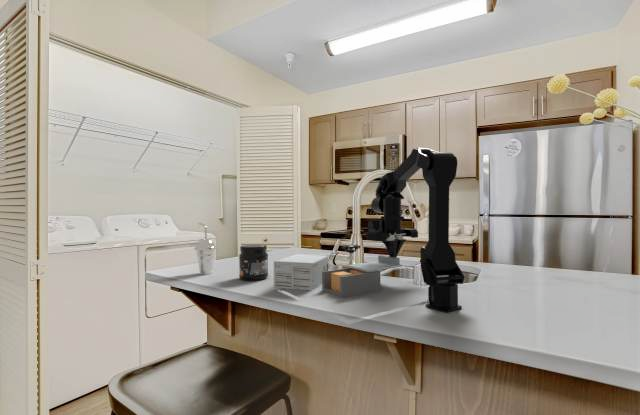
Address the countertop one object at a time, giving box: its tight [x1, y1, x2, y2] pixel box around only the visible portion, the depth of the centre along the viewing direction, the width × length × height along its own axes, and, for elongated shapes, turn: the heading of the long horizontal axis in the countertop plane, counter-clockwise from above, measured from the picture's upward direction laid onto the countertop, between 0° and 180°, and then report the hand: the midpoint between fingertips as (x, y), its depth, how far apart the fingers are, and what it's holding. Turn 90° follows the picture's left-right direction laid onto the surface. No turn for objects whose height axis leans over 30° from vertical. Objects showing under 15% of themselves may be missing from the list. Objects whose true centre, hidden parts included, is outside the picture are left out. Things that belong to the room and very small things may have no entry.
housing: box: [321, 267, 382, 299], centre depth 101 cm, size 10×14×6 cm
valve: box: [341, 244, 361, 265], centre depth 120 cm, size 7×7×12 cm
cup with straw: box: [193, 222, 217, 275], centre depth 133 cm, size 8×9×20 cm
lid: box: [345, 254, 403, 272], centre depth 106 cm, size 10×14×3 cm
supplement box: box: [273, 253, 329, 291], centre depth 111 cm, size 17×13×9 cm
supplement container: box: [238, 243, 269, 282], centre depth 123 cm, size 10×10×12 cm
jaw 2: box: [350, 269, 366, 275], centre depth 103 cm, size 4×4×6 cm
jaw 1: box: [331, 271, 352, 293], centre depth 99 cm, size 4×4×6 cm
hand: (392, 260), depth 111 cm, fingers closed
